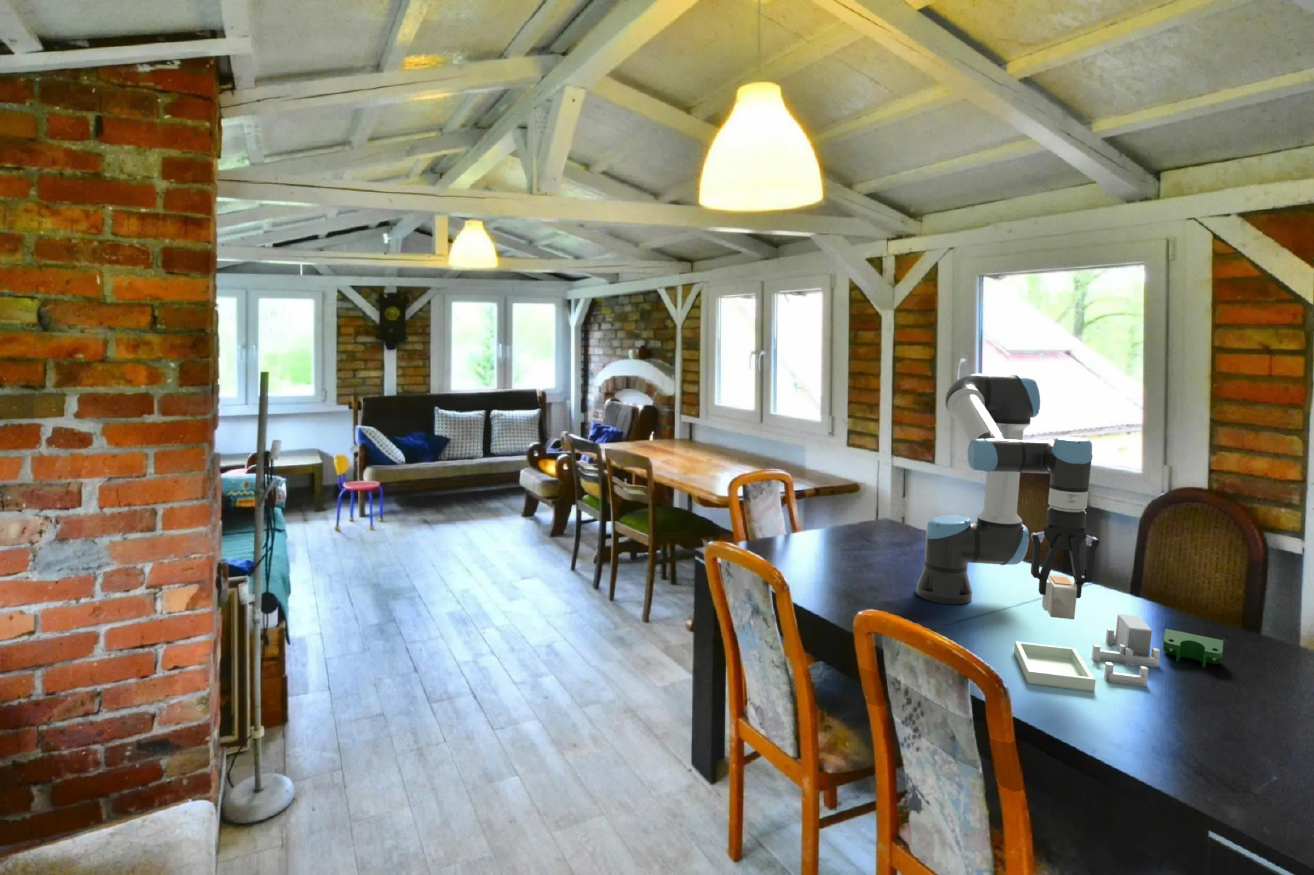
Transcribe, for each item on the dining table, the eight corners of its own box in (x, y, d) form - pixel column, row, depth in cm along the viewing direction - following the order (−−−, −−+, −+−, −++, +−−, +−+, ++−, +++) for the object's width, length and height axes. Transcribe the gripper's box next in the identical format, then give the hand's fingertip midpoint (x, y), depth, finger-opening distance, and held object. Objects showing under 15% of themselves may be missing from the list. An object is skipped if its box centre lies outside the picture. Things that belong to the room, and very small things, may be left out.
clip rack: (1107, 682, 165) (1108, 666, 164) (1077, 637, 189) (1079, 623, 189) (1180, 691, 161) (1181, 675, 160) (1140, 644, 185) (1141, 630, 185)
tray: (1027, 683, 164) (1028, 671, 163) (1014, 652, 180) (1015, 641, 179) (1094, 692, 160) (1095, 679, 160) (1074, 659, 176) (1075, 648, 176)
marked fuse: (1050, 617, 164) (1053, 585, 163) (1042, 602, 173) (1044, 572, 172) (1074, 619, 163) (1077, 587, 162) (1064, 605, 172) (1067, 574, 171)
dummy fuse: (1126, 660, 176) (1129, 627, 175) (1114, 645, 185) (1117, 614, 184) (1148, 662, 175) (1151, 629, 174) (1135, 647, 184) (1139, 616, 183)
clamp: (1170, 676, 178) (1154, 642, 177) (1172, 662, 182) (1157, 629, 182) (1230, 672, 170) (1214, 637, 169) (1231, 658, 174) (1215, 623, 174)
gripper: (1026, 508, 164) (1018, 611, 167) (1117, 515, 159) (1107, 620, 162) (1020, 501, 171) (1012, 599, 174) (1107, 507, 166) (1097, 608, 169)
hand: (1058, 609), depth 168 cm, fingers closed on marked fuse, 4 cm apart
